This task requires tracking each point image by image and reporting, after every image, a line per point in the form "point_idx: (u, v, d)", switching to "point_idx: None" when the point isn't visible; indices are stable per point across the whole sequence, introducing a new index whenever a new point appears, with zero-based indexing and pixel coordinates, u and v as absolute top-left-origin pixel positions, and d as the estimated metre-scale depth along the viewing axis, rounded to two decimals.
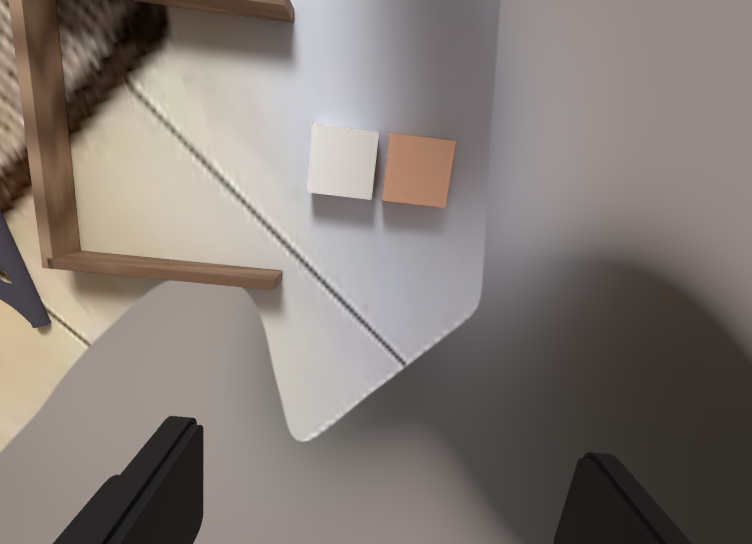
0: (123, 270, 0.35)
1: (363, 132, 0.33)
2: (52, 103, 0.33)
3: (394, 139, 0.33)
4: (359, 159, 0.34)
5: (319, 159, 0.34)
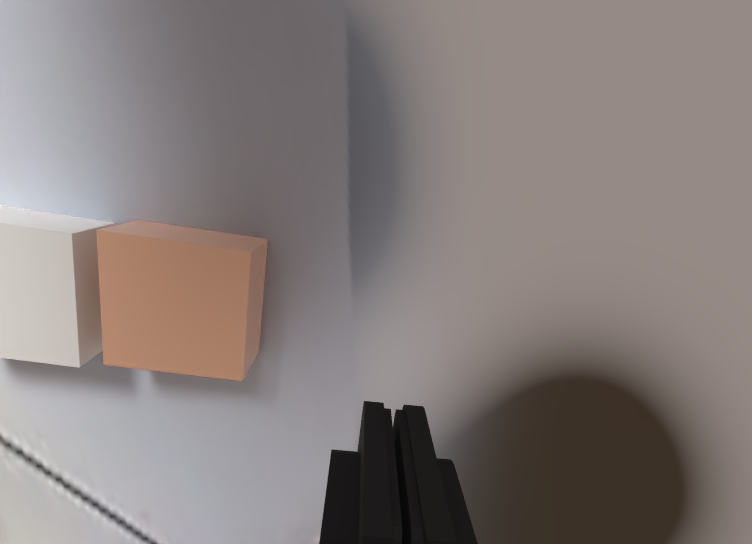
0: None
1: (35, 233, 0.15)
2: None
3: (108, 243, 0.15)
4: (36, 287, 0.15)
5: None
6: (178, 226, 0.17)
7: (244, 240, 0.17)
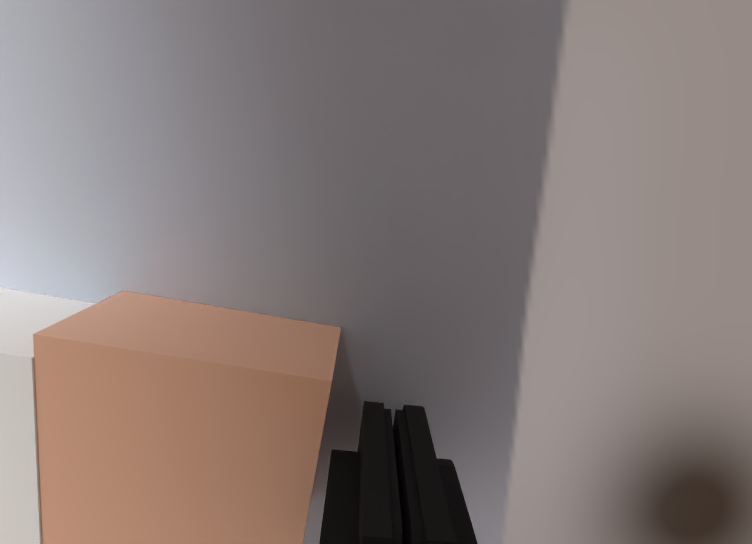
0: None
1: None
2: None
3: (55, 359, 0.08)
4: None
5: None
6: (191, 305, 0.10)
7: (307, 339, 0.09)
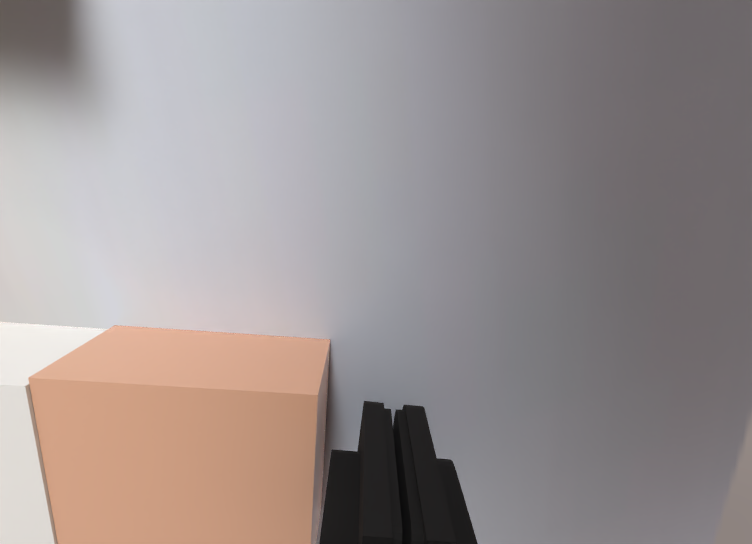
0: None
1: None
2: None
3: (52, 399, 0.08)
4: None
5: None
6: (182, 332, 0.10)
7: (295, 354, 0.10)
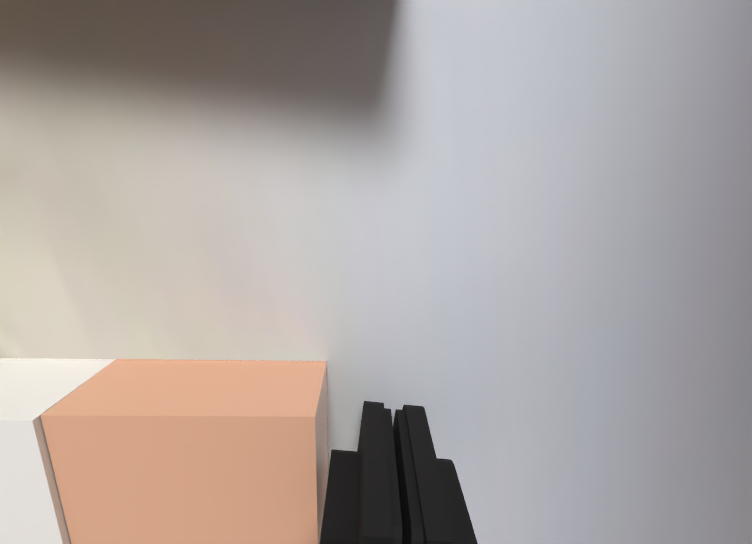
0: None
1: None
2: None
3: (64, 434, 0.08)
4: None
5: None
6: None
7: (293, 375, 0.10)
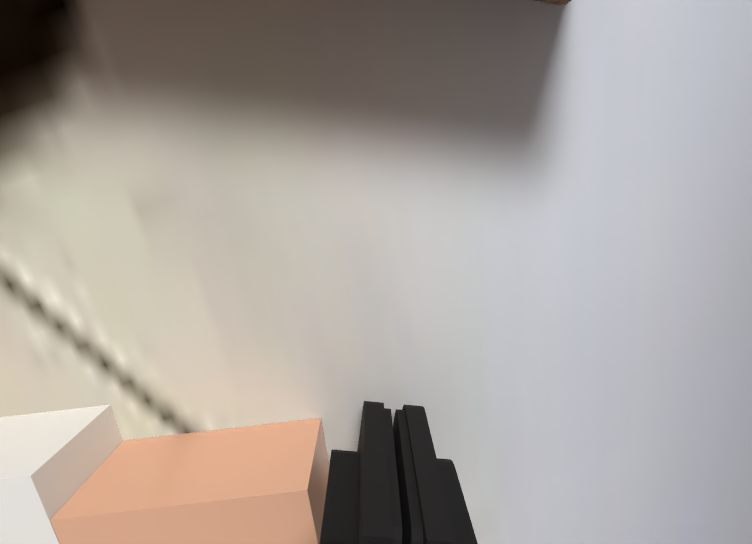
0: None
1: None
2: None
3: (75, 534, 0.09)
4: None
5: None
6: (185, 435, 0.11)
7: (288, 442, 0.10)
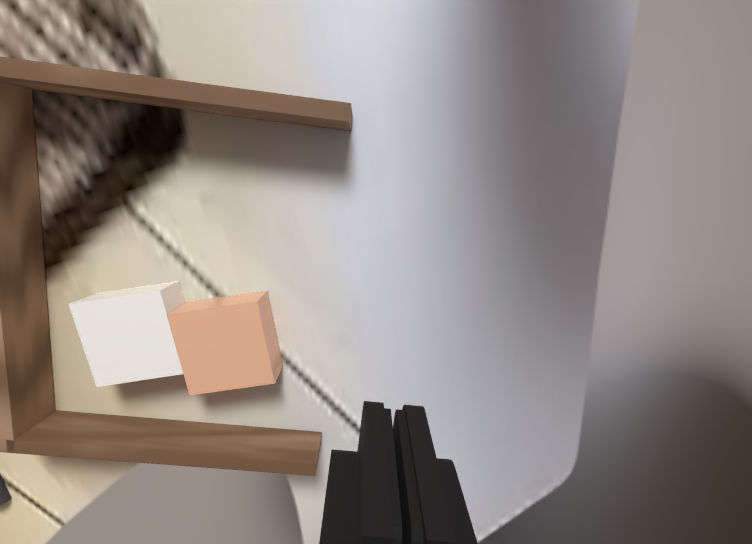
0: (111, 454, 0.26)
1: (139, 296, 0.24)
2: (21, 236, 0.24)
3: (175, 320, 0.25)
4: (147, 329, 0.25)
5: (96, 344, 0.25)
6: None
7: (252, 295, 0.26)
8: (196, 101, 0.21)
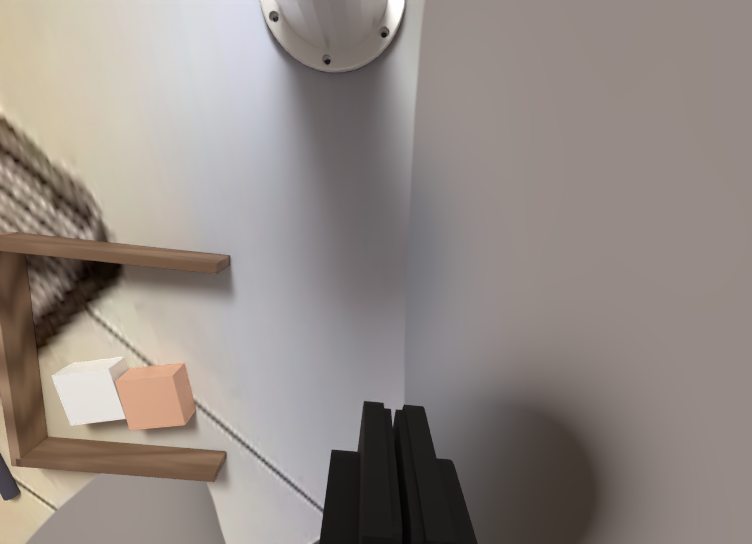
0: (82, 467, 0.40)
1: (95, 372, 0.38)
2: (20, 333, 0.38)
3: (120, 384, 0.39)
4: (101, 391, 0.39)
5: (69, 400, 0.39)
6: (147, 367, 0.41)
7: (173, 368, 0.40)
8: (122, 263, 0.35)
